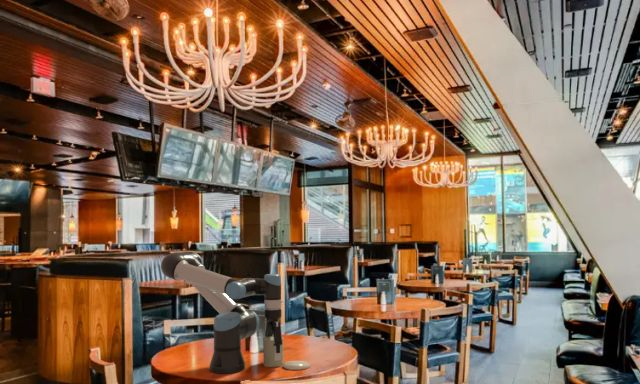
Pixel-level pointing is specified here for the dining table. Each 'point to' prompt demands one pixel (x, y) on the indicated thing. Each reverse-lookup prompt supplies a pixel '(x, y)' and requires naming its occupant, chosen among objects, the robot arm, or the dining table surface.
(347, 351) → the dining table surface
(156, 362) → the dining table surface
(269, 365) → the can
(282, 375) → the dining table surface
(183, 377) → the dining table surface
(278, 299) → the robot arm
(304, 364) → the disc
